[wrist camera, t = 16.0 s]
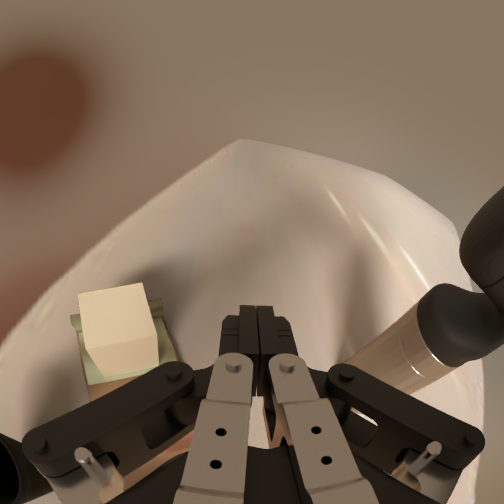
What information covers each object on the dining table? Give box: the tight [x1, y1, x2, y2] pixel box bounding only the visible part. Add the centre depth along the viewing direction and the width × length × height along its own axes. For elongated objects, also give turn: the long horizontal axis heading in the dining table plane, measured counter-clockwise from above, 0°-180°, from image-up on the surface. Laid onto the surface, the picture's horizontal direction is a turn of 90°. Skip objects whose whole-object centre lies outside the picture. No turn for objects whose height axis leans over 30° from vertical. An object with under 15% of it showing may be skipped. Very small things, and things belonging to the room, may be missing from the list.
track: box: [70, 298, 194, 491], centre depth 24 cm, size 29×12×4 cm, turn 25°
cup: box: [0, 433, 54, 504], centre depth 12 cm, size 8×8×12 cm
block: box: [78, 283, 159, 377], centre depth 27 cm, size 6×7×9 cm
